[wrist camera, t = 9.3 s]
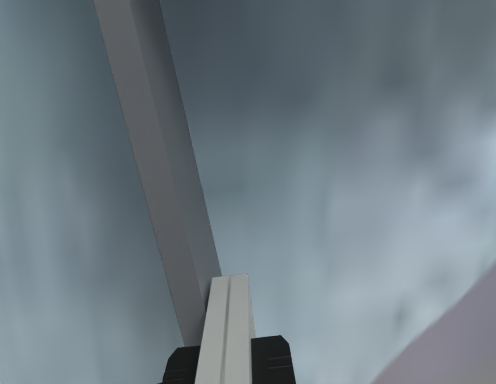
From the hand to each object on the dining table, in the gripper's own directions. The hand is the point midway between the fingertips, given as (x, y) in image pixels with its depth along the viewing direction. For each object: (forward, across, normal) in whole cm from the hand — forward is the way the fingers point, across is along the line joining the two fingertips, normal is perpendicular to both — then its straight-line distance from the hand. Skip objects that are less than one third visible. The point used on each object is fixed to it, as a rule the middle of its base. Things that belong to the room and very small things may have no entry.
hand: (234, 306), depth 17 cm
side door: (+4, -2, +5) cm, 7 cm away
